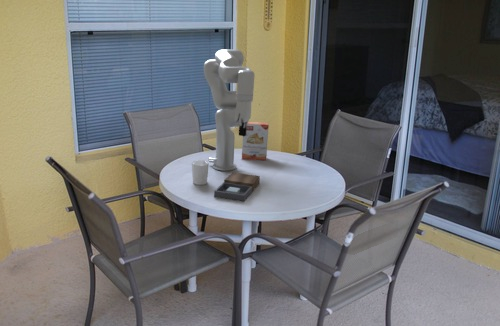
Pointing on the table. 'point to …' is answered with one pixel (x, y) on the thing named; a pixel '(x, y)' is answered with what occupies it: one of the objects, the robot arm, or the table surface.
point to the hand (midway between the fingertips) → (242, 135)
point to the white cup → (200, 172)
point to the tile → (233, 190)
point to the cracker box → (255, 141)
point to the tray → (243, 195)
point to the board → (243, 179)
